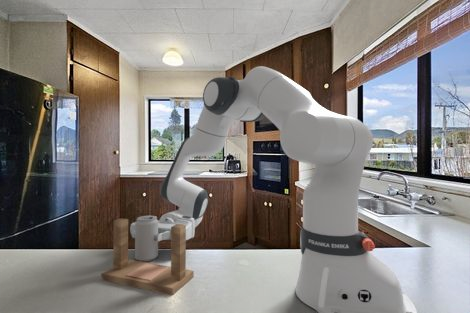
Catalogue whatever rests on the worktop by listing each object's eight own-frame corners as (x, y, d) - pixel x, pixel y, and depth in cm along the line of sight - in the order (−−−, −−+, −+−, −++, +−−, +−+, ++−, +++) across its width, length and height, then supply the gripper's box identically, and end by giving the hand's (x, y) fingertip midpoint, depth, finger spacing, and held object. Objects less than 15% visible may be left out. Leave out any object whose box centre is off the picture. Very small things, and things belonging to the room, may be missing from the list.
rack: (193, 276, 63) (193, 222, 63) (172, 295, 54) (173, 231, 54) (128, 265, 70) (129, 215, 70) (101, 279, 61) (101, 223, 61)
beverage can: (150, 263, 70) (151, 220, 71) (130, 261, 72) (130, 219, 72) (162, 255, 77) (162, 215, 77) (142, 253, 78) (143, 214, 78)
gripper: (147, 213, 90) (116, 222, 77) (198, 218, 83) (174, 229, 70) (146, 231, 90) (116, 243, 77) (198, 237, 83) (174, 252, 70)
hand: (144, 236), depth 73 cm, fingers closed on beverage can, 6 cm apart
